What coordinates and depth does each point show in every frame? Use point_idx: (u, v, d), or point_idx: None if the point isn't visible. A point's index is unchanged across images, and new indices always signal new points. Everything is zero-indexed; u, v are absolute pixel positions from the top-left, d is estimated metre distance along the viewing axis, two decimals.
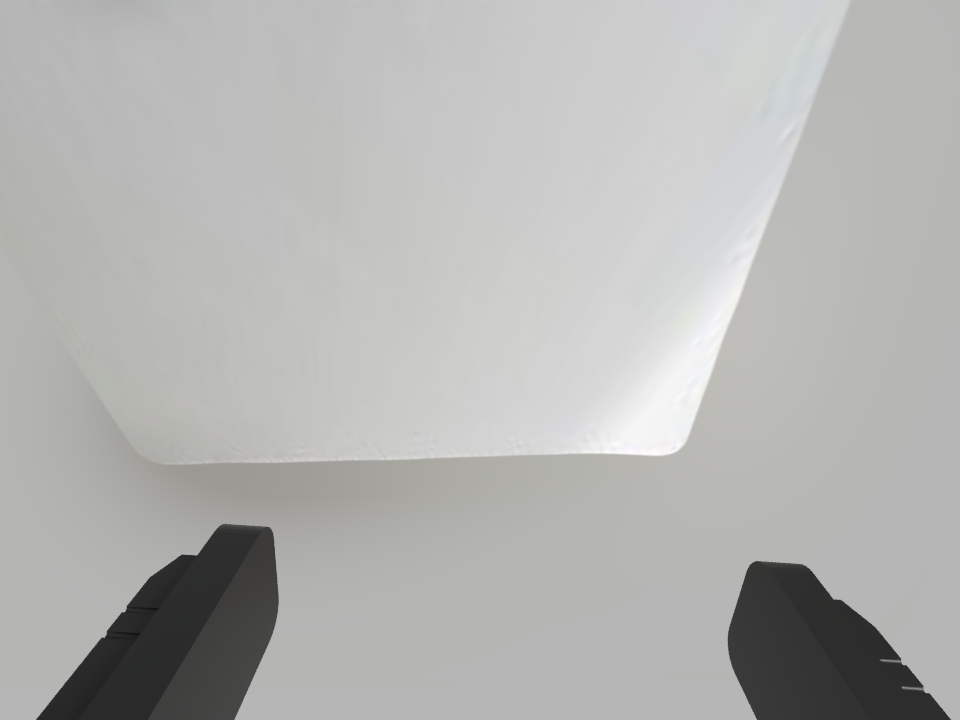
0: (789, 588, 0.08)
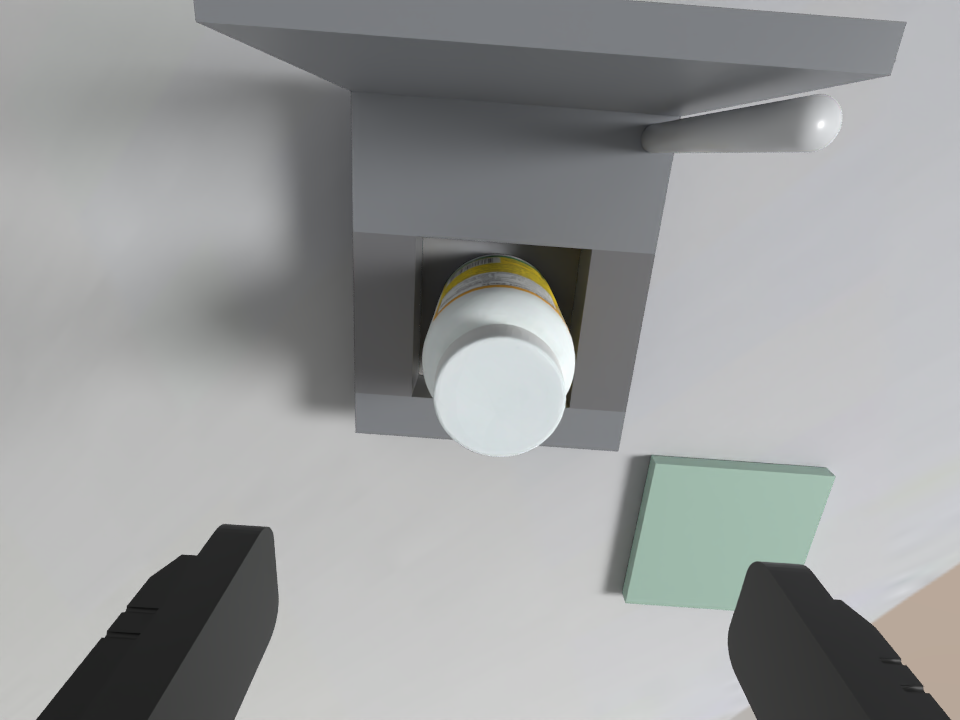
0: (789, 588, 0.08)
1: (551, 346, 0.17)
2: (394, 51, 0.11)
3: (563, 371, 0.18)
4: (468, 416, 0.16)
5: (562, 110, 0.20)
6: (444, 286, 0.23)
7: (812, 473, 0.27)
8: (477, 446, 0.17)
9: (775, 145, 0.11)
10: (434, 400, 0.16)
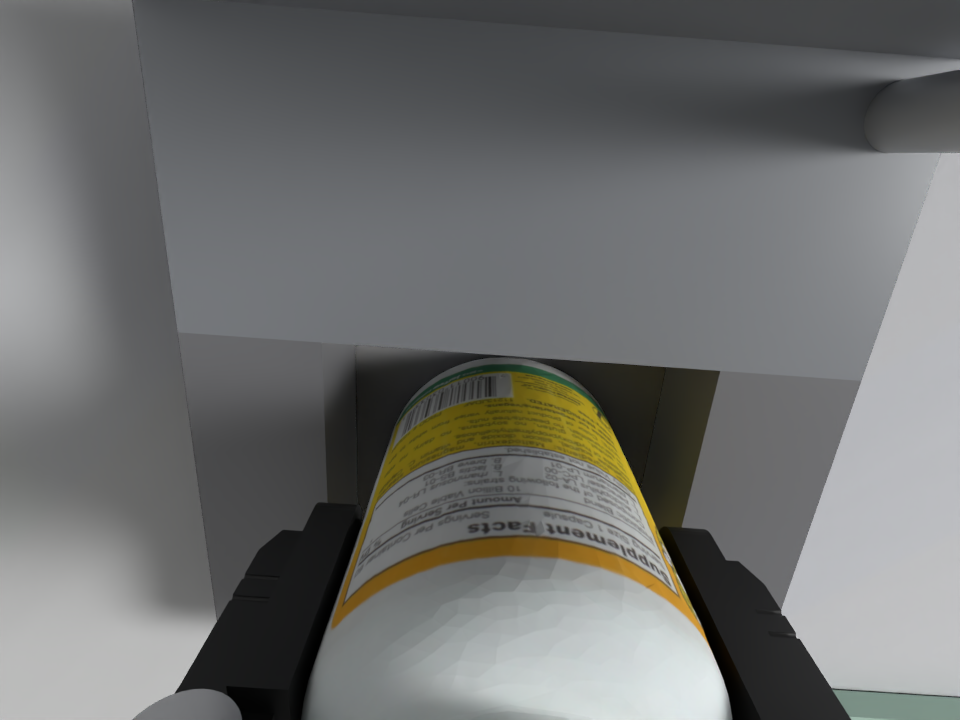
0: (686, 548, 0.09)
1: None
2: None
3: None
4: None
5: (673, 45, 0.08)
6: (395, 428, 0.11)
7: None
8: None
9: None
10: None
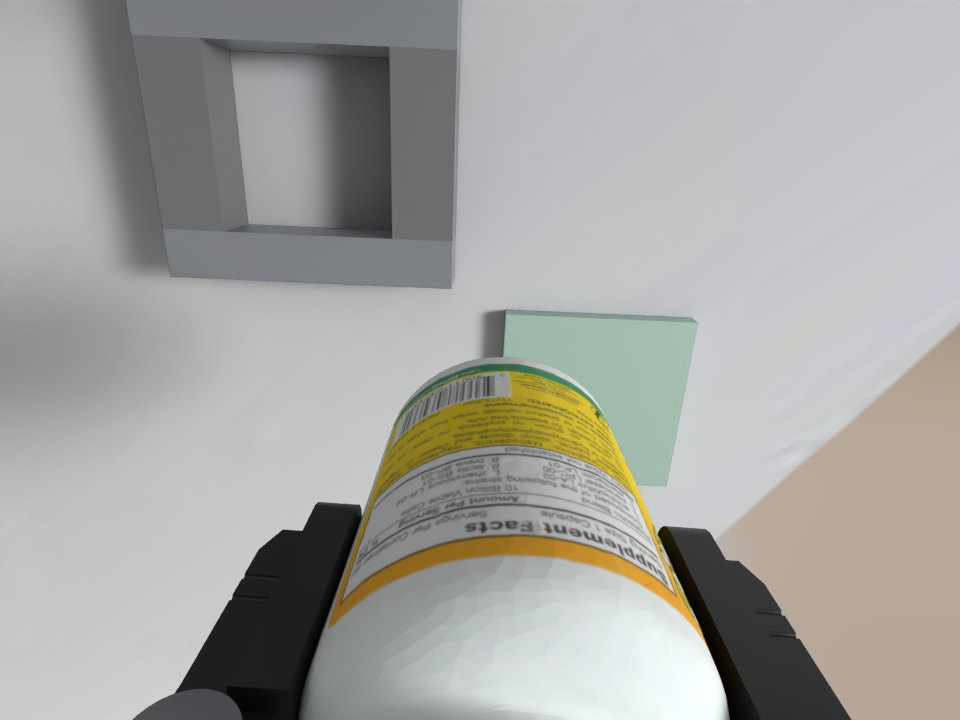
0: (686, 548, 0.09)
1: None
2: None
3: None
4: None
5: None
6: (394, 428, 0.11)
7: (674, 320, 0.25)
8: None
9: None
10: None
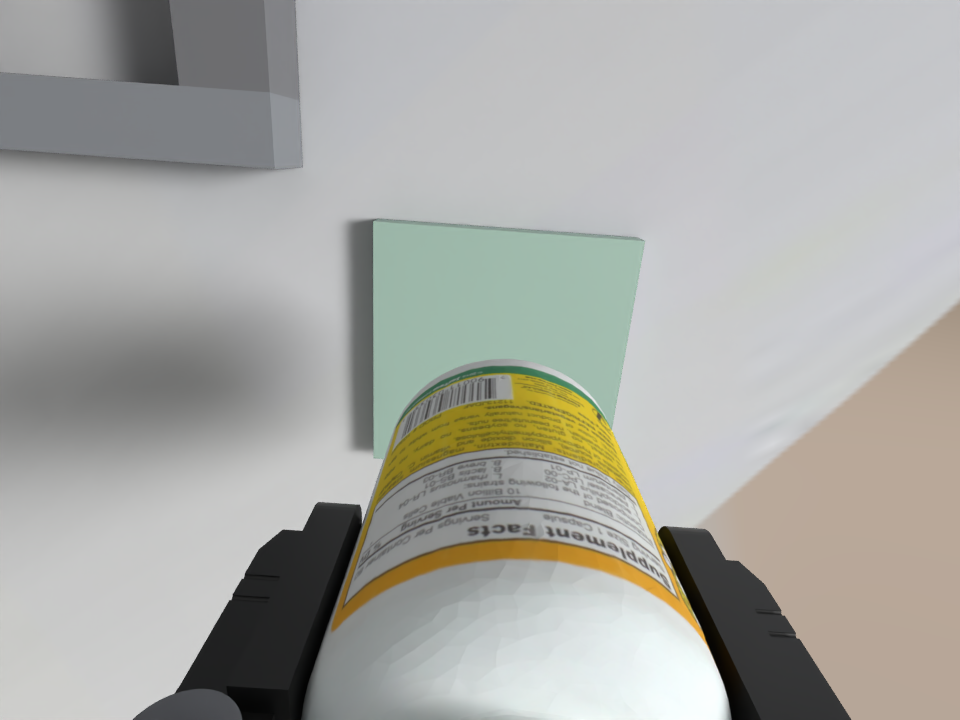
0: (686, 548, 0.09)
1: None
2: None
3: None
4: None
5: None
6: (395, 430, 0.11)
7: (611, 238, 0.18)
8: None
9: None
10: None
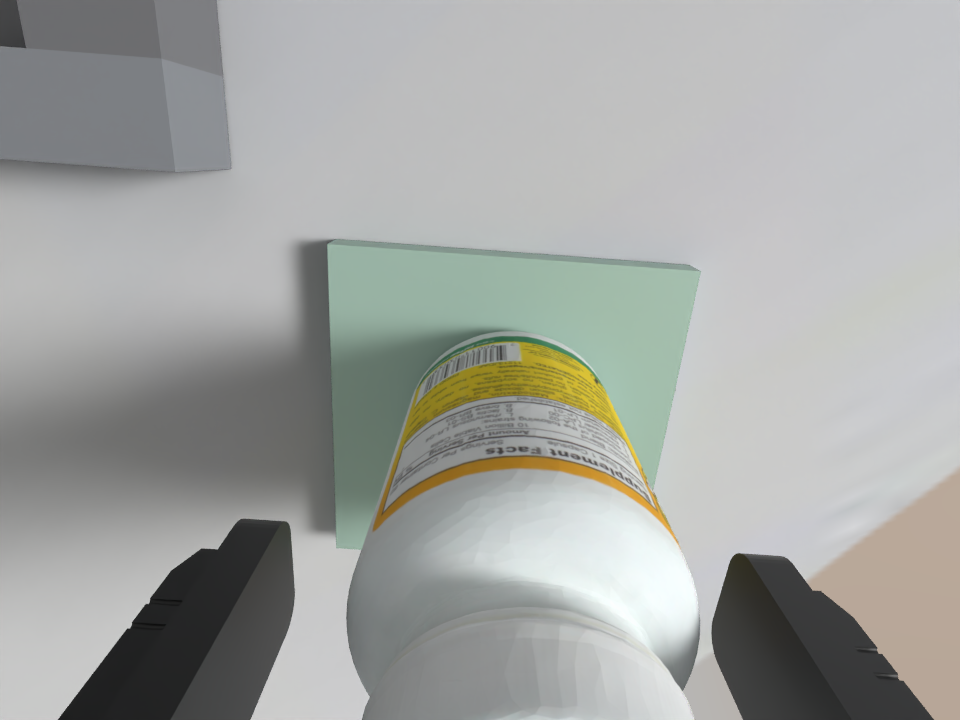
0: (769, 579, 0.08)
1: (657, 628, 0.07)
2: None
3: (679, 674, 0.07)
4: None
5: None
6: (416, 391, 0.13)
7: (654, 266, 0.13)
8: None
9: None
10: None
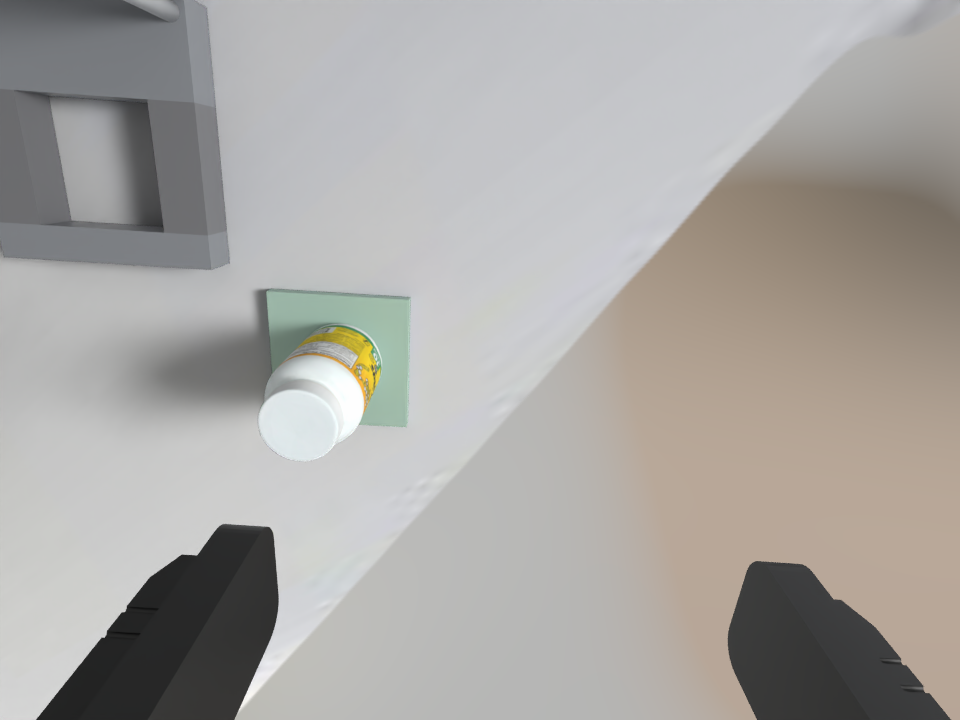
0: (789, 588, 0.08)
1: (340, 392, 0.28)
2: None
3: (350, 408, 0.29)
4: (280, 436, 0.27)
5: None
6: None
7: (392, 298, 0.34)
8: (287, 455, 0.27)
9: None
10: (258, 427, 0.27)
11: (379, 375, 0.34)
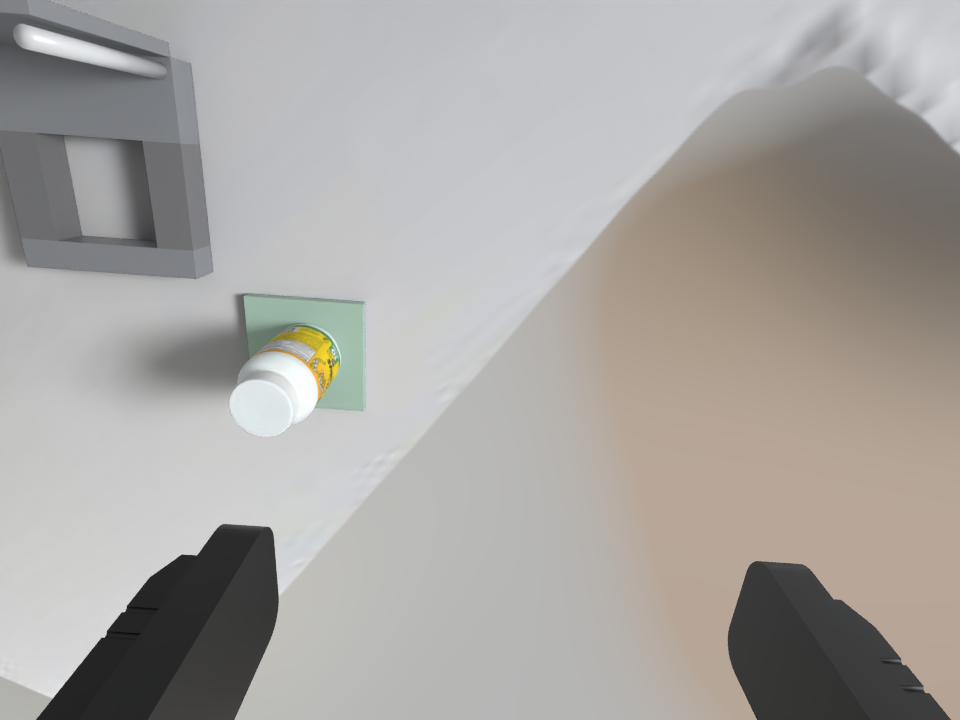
0: (789, 588, 0.08)
1: (296, 382, 0.35)
2: None
3: (305, 394, 0.35)
4: (246, 416, 0.34)
5: None
6: None
7: (348, 302, 0.41)
8: (253, 431, 0.34)
9: None
10: (229, 408, 0.33)
11: (337, 367, 0.41)
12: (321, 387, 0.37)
